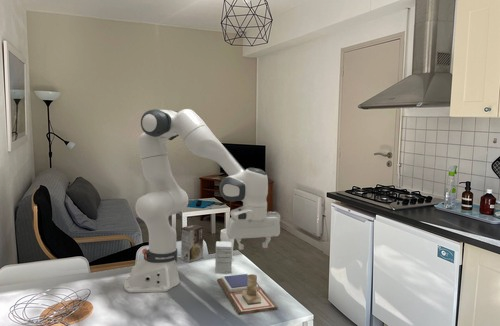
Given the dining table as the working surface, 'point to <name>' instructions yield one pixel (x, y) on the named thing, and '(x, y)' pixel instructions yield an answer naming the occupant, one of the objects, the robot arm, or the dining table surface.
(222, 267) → the supplement box
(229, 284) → the ink pad
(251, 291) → the wooden stamp
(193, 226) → the coffee box
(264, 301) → the sheet
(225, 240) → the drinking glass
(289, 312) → the dining table surface
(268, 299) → the stamping board
